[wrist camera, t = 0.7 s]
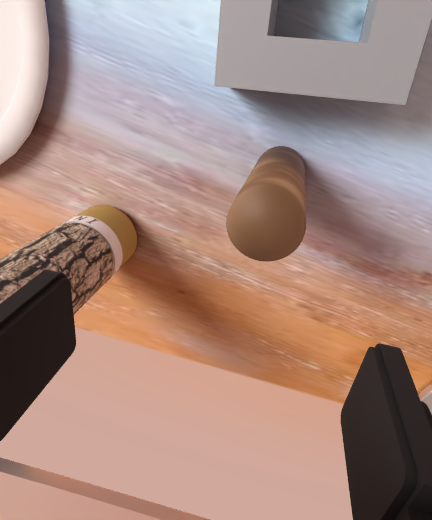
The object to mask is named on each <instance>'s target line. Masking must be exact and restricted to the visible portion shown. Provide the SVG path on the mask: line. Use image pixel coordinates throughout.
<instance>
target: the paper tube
mask: <svg viewBox="0 0 432 520" xmlns="http://www.w3.org/2000/svg"><path fill="white" fill-rule="evenodd" d="M136 247H137V234H136V230H135V228H134V226H133V224H132V222H131V221H130V219H129V218H128V217H127V216H126V215H125V214H124V213H123V212H121V211H120V210H118V209H116V208H114V207H111V206H108V205H97V206H93V207H90V208H88V209H87V210H85V211H83V212H82V213H80V214H78V215H76V216H75V217H73V218H71V219H69V220H67V221H65V222H64V223H62V224H60V225H58V226H57V227H55V228H53V229H52V230H50V231H48V232H46V233H45V234H43V235H41V236H39V237H38V238H36V239H34V240H32V241H31V242H29V243H27V244H26V245H24V246H22V247H20V248H19V249H17V250H15V251H13V252H12V253H10V254H8V255H6V256H5V257H3V258H1V259H0V303H2V302H3V301H4V300H6V299H7V298H8V297H10V296H11V295H12V294H13V293H15V292H16V291H17V290H19V289H20V288H21V287H23V286H24V285H25V284H27V283H28V282H29V281H30V280H32V279H33V278H34V277H36V276H37V275H38V274H40V273H41V272H42V271H44V270H52V271H56V272H61V273H64V274H65V275H66V277H67V279H69V280H70V283H71V292H72V303H73V314H75V313H76V312H77V311H78V310H79V309H80V308H81V307H82V306H83V305H84V304H85V303H86V302H87V301H88V300H89V299H90V298H91V297H92V296H93V295H94V294H95V293H96V292H97V291H98V290H99V289H100V288H101V287H102V286H103V285H104V284H105V283H106V282H107V281H108V280H109V279H110V278H111V277H112V276H113V275H114V274H115V273H116V272H117V271H118V269H119V268H120V267H121V266H122V265H123V264H124V263H125V262H126V261H127V260H128V259H129V258H130V257H131V256H132V255H133V253H134V252H135V250H136Z"/></svg>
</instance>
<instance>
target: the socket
mask: <svg viewBox="0 0 432 520" xmlns="http://www.w3.org/2000/svg"><path fill="white" fill-rule="evenodd" d="M278 2H279V0H221V6H220V19H219V33H218V46H217V60H216V73H215V86H219V87H229V88H239V89H249V90H259V91H269V92H279V93H289V94H299V95H309V96H318V97H328V98H338V99H348V100H358V101H368V102H378V103H388V104H398V105H406V102H407V98H408V95H409V92H410V89H411V85H412V82H413V79H414V75H415V72H416V69H417V66H418V62H419V59H420V56H421V52H422V49H423V46H424V43H425V39H426V36H427V33H428V29H429V26H430V23H431V20H432V0H369V2H368V6H367V10H366V14H365V19H364V23H363V27H362V32H361V36H360V40H359V43H358V42H345V41H332V40H319V39H306V38H292V37H279V36H274V32H275V25H276V17H277V10H278Z"/></svg>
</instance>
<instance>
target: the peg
mask: <svg viewBox="0 0 432 520" xmlns="http://www.w3.org/2000/svg"><path fill="white" fill-rule="evenodd" d="M226 226H227V232H228V235H229V238H230V240H231V242H232V243H233V245H234V246H235V247H236V248H237V249H238V250H239V251H240V252H241V253H242V254H244V255H245V256H247V257H249V258H252V259H255V260H259V261H275V260H279V259H282V258H284V257H286V256H288V255H290V254H291V253H292V252H293V251H295V250H296V249H297V247H298V246H299V245H300V243H301V242H302V239H303V237H304V234H305V229H306V201H305V164H304V161H303V159H302V157H301V156H300V155H299V153H297V152H296V151H295V150H293V149H291V148H289V147H285V146H278V147H274V148H271V149H269V150H267V151H266V152H265V153H264V154H263V155H262V156H261V157H260V159H259V160H258V162H257V164H256V165H255V167H254V169H253V170H252V172H251V174H250V175H249V177H248V179H247V180H246V182H245V184H244V185H243V187H242V188H241V190H240V192H239V193H238V195H237V197H236V198H235V200H234V202H233V203H232V205H231V207H230V209H229V212H228V215H227V221H226Z"/></svg>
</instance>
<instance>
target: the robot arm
mask: <svg viewBox="0 0 432 520" xmlns="http://www.w3.org/2000/svg"><path fill="white" fill-rule="evenodd" d="M75 346H76V337H75V325H74V314H73V303H72V292H71V283H70V280H69V279H67V277H66V275H65V274H64V273H61V272H56V271H52V270H44V271H42V272H41V273H40V274H38V275H37V276H36V277H34V278H33V279H32V280H30V281H29V282H28V283H27V284H25V285H24V286H23V287H21V288H20V289H19V290H17V291H16V292H15V293H13V294H12V295H11V296H10V297H8V298H7V299H6V300H4V301H3V302H2V303H0V441H1V440H2V439H3V438H4V437H5V436H6V434H7V433H8V432H9V431H10V429H11V428H12V427H13V426H14V425H15V423H16V422H17V421H18V420H19V419H20V417H21V416H22V415H23V414H24V412H25V411H26V410H27V409H28V407H29V406H30V405H31V404H32V402H33V401H34V400H35V399H36V398H37V396H38V395H39V394H40V393H41V391H42V390H43V389H44V388H45V386H46V385H47V384H48V383H49V381H50V380H51V379H52V378H53V377H54V375H55V374H56V373H57V372H58V370H59V369H60V368H61V367H62V365H63V364H64V363H65V362H66V360H67V359H68V358H69V357H70V356H71V354H72V353H73V351H74V349H75ZM341 426H342V434H343V443H344V451H345V459H346V466H347V475H348V483H349V491H350V498H351V507H352V515H353V520H432V383H431V384H430V385H428V386H427V387H426V388H424V389H423V390H422V391H421V392H420V393H419V394H418V393H417V390H416V388H415V385H414V382H413V380H412V377H411V374H410V372H409V369H408V366H407V364H406V361H405V358H404V356H403V353H402V351H401V349H400V348H398V347H393V346H389V345H384V344H380V343H379V344H377V345H376V346H375V348H374V347H369V348H368V350H367V353H366V355H365V357H364V359H363V362H362V364H361V366H360V369H359V371H358V373H357V376H356V378H355V380H354V382H353V385H352V387H351V389H350V392H349V394H348V396H347V399H346V401H345V403H344V405H343V408H342V412H341ZM0 520H209V519H206V518H203V517H199V516H196V515H193V514H189V513H186V512H183V511H180V510H176V509H172V508H170V507H166V506H163V505H160V504H156V503H153V502H149V501H146V500H143V499H139V498H136V497H133V496H129V495H126V494H122V493H119V492H115V491H112V490H109V489H106V488H102V487H99V486H95V485H92V484H89V483H85V482H82V481H79V480H75V479H71V478H69V477H65V476H62V475H58V474H55V473H51V472H48V471H44V470H41V469H38V468H34V467H30V466H27V465H24V464H20V463H17V462H14V461H10V460H7V459H3V458H0Z"/></svg>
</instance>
